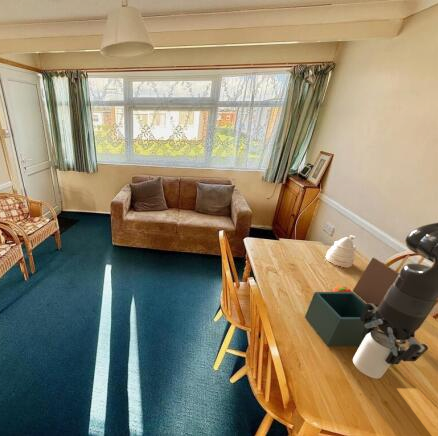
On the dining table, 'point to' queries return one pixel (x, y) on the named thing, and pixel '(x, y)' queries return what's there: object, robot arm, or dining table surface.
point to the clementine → (342, 289)
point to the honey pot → (342, 252)
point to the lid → (375, 282)
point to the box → (337, 318)
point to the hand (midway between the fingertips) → (377, 349)
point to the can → (373, 354)
